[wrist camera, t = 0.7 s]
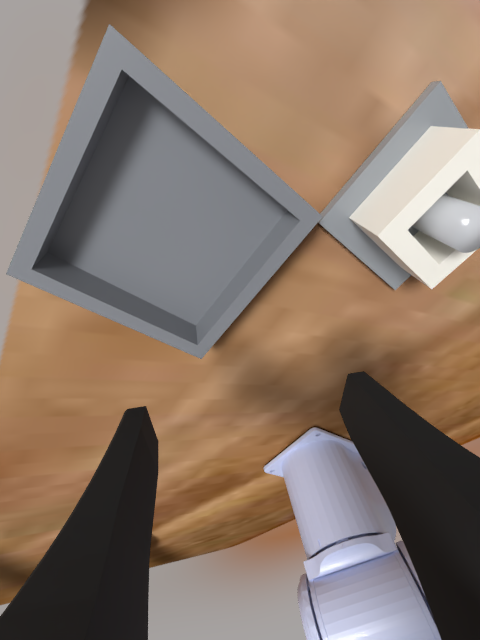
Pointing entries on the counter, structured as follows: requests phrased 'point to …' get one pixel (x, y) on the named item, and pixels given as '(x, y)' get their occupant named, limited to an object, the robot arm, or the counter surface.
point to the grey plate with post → (437, 222)
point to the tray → (156, 209)
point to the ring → (423, 200)
